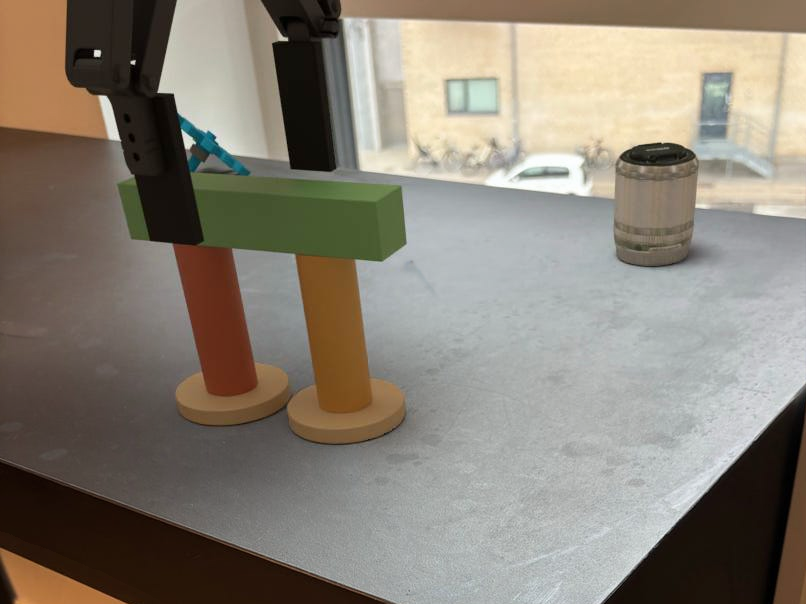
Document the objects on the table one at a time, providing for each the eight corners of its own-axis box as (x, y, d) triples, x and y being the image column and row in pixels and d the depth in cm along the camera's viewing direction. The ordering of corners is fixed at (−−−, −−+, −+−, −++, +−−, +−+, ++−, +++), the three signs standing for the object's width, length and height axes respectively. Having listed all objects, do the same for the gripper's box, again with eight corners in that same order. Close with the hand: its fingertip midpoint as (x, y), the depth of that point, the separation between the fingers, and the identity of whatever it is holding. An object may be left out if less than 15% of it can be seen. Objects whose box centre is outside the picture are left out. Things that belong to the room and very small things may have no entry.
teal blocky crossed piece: (257, 171, 101) (168, 99, 96) (224, 221, 103) (134, 153, 98) (250, 162, 111) (168, 96, 106) (220, 208, 112) (138, 145, 107)
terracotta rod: (155, 417, 62) (111, 251, 56) (219, 371, 67) (185, 214, 61) (252, 432, 60) (217, 261, 54) (311, 384, 65) (285, 222, 59)
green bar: (130, 239, 57) (116, 183, 56) (162, 223, 60) (149, 169, 58) (382, 262, 52) (375, 201, 50) (407, 244, 54) (402, 184, 52)
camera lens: (600, 248, 83) (603, 144, 78) (671, 238, 84) (678, 134, 79) (630, 272, 78) (635, 163, 73) (705, 261, 79) (714, 152, 74)
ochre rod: (267, 435, 60) (233, 262, 53) (325, 386, 65) (300, 223, 58) (373, 451, 57) (350, 273, 51) (424, 399, 62) (410, 231, 56)
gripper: (12, -393, 31) (171, 288, 45) (375, -325, 49) (412, 148, 62) (-162, -366, 34) (38, 272, 47) (244, -310, 52) (306, 142, 65)
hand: (251, 202), depth 55 cm, fingers open, 13 cm apart
